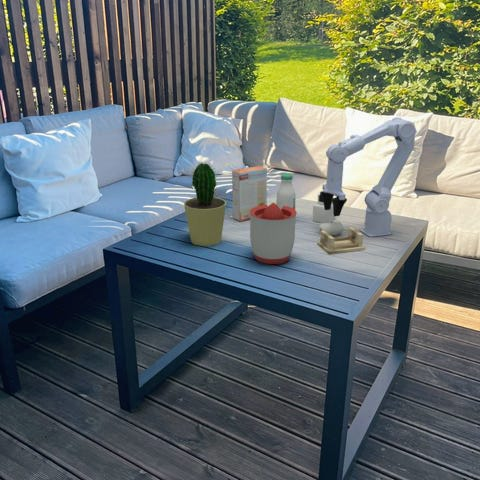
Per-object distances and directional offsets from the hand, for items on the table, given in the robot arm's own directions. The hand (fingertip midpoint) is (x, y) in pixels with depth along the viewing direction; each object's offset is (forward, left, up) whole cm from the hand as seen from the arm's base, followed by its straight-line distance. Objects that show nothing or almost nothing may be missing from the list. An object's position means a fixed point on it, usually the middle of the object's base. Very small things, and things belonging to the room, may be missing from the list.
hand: (332, 212), depth 192 cm
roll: (0, 0, -9) cm, 9 cm away
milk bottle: (+11, -19, -9) cm, 24 cm away
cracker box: (+23, -29, -9) cm, 38 cm away
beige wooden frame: (+2, +12, -9) cm, 15 cm away
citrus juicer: (+29, +13, -9) cm, 33 cm away
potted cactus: (+47, -9, -9) cm, 49 cm away
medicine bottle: (-5, -16, -9) cm, 19 cm away
